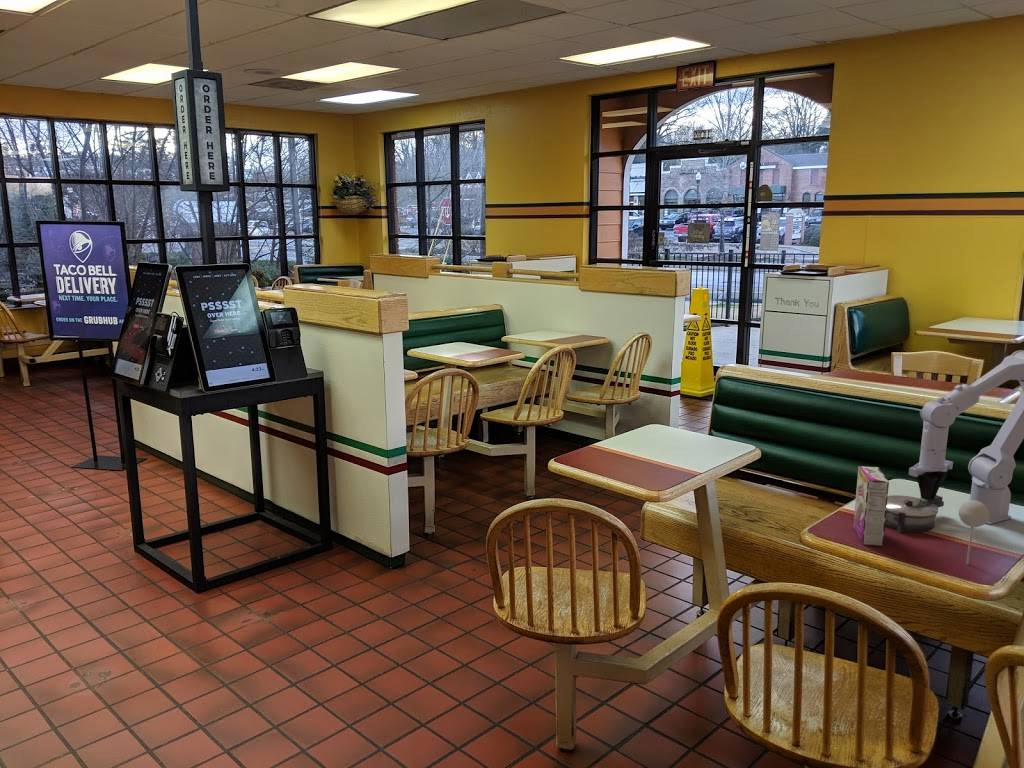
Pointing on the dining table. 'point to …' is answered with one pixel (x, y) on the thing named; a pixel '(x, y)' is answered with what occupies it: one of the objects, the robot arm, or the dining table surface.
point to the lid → (913, 505)
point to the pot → (911, 521)
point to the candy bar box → (871, 505)
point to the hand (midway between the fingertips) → (927, 498)
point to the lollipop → (973, 517)
